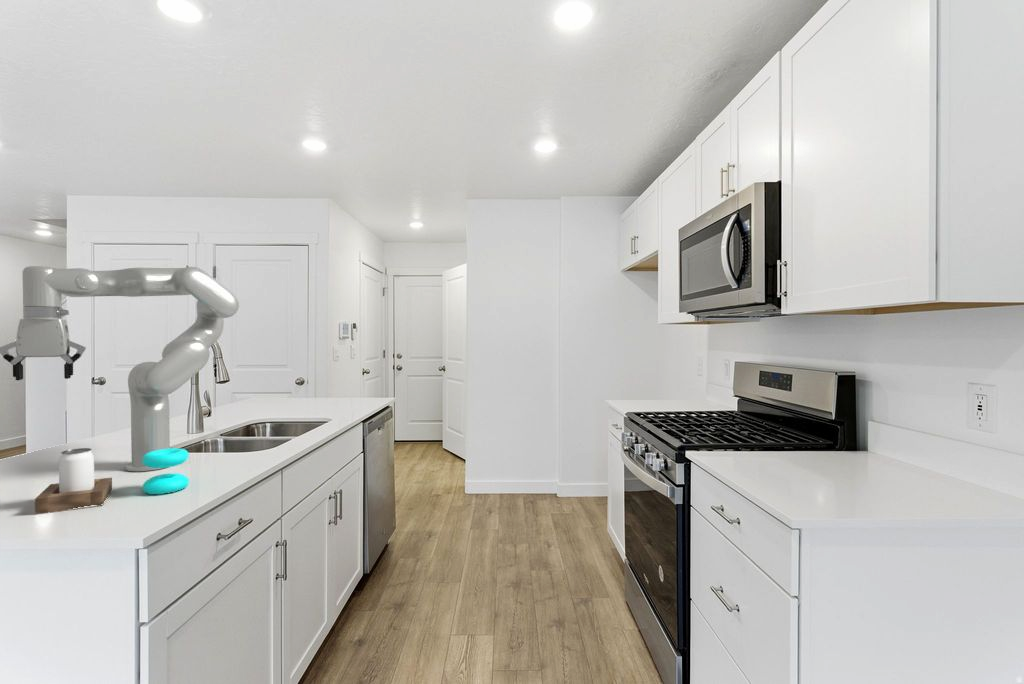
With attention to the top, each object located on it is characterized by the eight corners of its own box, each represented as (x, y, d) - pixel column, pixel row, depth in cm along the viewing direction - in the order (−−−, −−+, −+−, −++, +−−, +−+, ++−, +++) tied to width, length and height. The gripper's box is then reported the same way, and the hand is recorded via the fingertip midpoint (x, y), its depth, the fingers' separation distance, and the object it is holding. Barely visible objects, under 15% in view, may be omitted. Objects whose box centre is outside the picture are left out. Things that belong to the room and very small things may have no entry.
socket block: (112, 490, 133) (111, 477, 133) (102, 505, 122) (102, 491, 122) (50, 498, 127) (50, 484, 127) (35, 514, 116) (34, 499, 116)
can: (72, 496, 128) (72, 447, 127) (101, 495, 128) (100, 447, 128) (52, 505, 121) (51, 454, 121) (82, 504, 122) (81, 453, 122)
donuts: (183, 454, 131) (136, 457, 127) (184, 493, 131) (137, 498, 128) (192, 446, 140) (148, 448, 137) (192, 482, 141) (149, 486, 137)
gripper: (88, 314, 143) (88, 376, 144) (3, 313, 135) (4, 379, 135) (81, 314, 137) (82, 379, 137) (-8, 313, 128) (-7, 381, 129)
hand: (43, 379), depth 136 cm, fingers open, 9 cm apart
